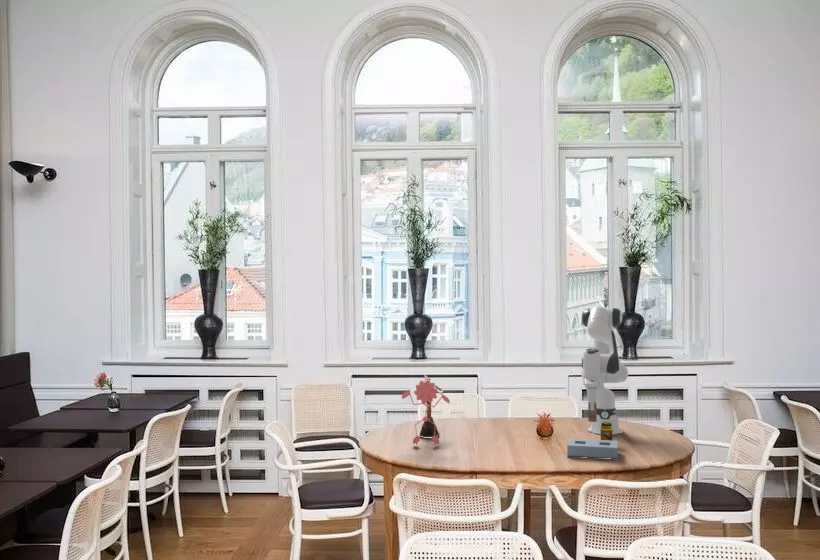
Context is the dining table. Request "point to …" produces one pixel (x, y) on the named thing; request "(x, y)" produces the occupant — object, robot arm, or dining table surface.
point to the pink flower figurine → (425, 394)
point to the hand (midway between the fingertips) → (592, 408)
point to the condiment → (606, 431)
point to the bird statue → (430, 418)
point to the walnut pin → (592, 413)
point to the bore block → (592, 448)
